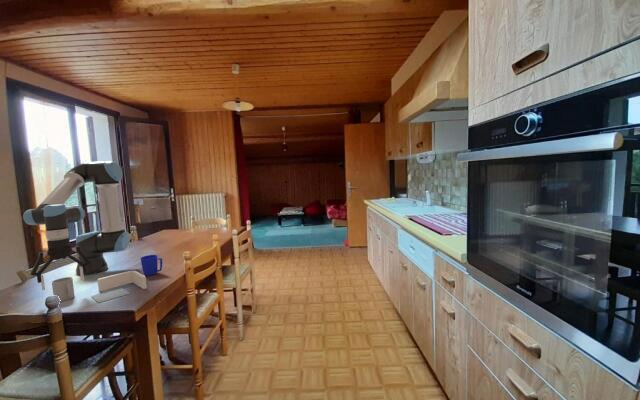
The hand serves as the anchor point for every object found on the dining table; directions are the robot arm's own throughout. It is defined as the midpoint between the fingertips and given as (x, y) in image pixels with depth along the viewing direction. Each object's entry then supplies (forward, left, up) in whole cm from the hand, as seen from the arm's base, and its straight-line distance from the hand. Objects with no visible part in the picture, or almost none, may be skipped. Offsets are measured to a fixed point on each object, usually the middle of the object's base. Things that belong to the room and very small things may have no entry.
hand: (63, 284), depth 134 cm
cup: (0, 0, -7) cm, 7 cm away
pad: (+13, +14, -7) cm, 20 cm away
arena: (+9, +20, -7) cm, 23 cm away
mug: (-2, +38, -7) cm, 39 cm away
